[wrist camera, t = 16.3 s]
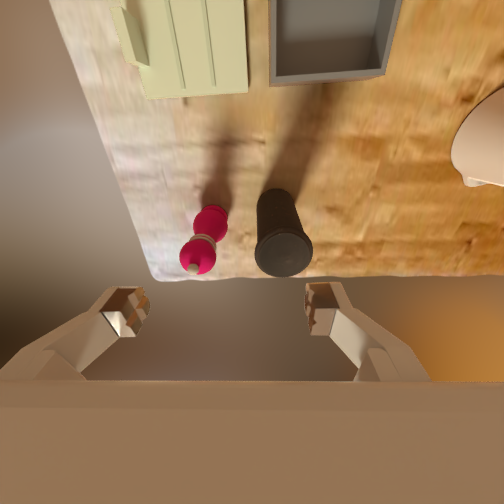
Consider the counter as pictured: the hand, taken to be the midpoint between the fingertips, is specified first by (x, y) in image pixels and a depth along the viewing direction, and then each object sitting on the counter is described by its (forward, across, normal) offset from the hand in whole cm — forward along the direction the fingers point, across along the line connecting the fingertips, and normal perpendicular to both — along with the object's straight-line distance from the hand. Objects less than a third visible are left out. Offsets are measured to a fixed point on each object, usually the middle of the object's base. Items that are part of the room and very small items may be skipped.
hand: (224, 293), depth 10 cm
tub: (+37, -12, -17) cm, 42 cm away
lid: (+36, +8, -17) cm, 40 cm away
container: (+37, -5, +10) cm, 39 cm away
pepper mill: (+37, +9, +12) cm, 40 cm away
